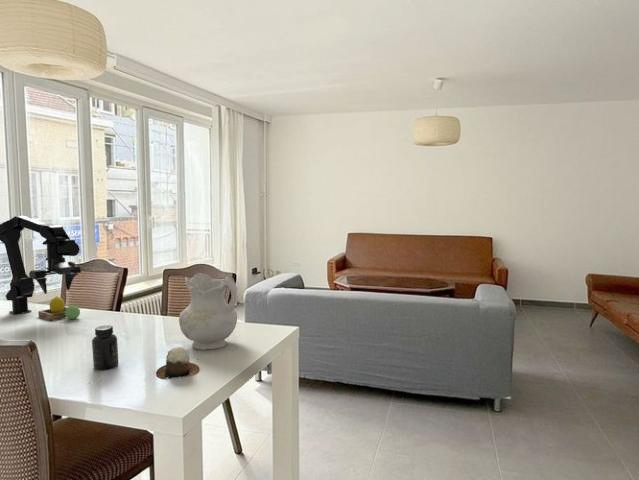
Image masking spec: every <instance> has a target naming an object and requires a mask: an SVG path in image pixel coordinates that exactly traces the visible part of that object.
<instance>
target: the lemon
mask: <svg viewBox="0 0 639 480" xmlns="http://www.w3.org/2000/svg"><path fill="white" fill-rule="evenodd" d="M65 307H66V305H65V302H64V299H63V298H62V297H60V296H55V297H53V298H52V299H51V300H50V302H49V309H50V310H51V311H52V312H53V313H60V312H62V311H63V310H64V308H65Z"/></svg>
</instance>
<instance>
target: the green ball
mask: <svg viewBox="0 0 639 480" xmlns="http://www.w3.org/2000/svg"><path fill="white" fill-rule="evenodd" d="M67 307H68V308H67V309H66V310H65V316H66V317H67V319H68V320H76V319H77V318H78V317H80V315H81V308H79V307H78V306H76V305H69V306H67Z"/></svg>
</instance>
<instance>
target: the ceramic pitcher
mask: <svg viewBox="0 0 639 480" xmlns="http://www.w3.org/2000/svg"><path fill="white" fill-rule="evenodd" d="M223 279H224V281H223ZM223 279H220V278H219V279H217V278H215V279H212V278H211V277H210V275H209V274H206V273H202V272H197V273H196V274H193V276H192V277H191V278H190V279H189V277H188V276H185V277H184V281H185V285H186V287H187V290H188V292H189V294H190V303H189V305H188V306H187V307H186V308H184V309H183V310H182V311H181V312H180V313H179V318H178V322H179V323H178V324H179V328H180V331H181V333H182V334H183V335H184V337H186V339H187V340H189V341H192V345H191V346H192V348H194V349H195V350H198V351H203V350H204V351H206V350H219V349H221V348H223V347H226V346H227V343H228V342H227V341H226V339H228V338H229V337H230V336H231V335H232V333H234V330H235V329H236V326H237V323H238V313H237V311H236V310H235V305H236V303H237V301H238V296H237V295H238V291H237V290H238V289H237V285H236V282H235V278H234V276H232V275H225V276H223ZM227 288H228V289H229V290H230V295H231V296H230V300H229V302H228V303H227V302H226V300H225V299H226V298H225V296H226V292H227Z"/></svg>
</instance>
